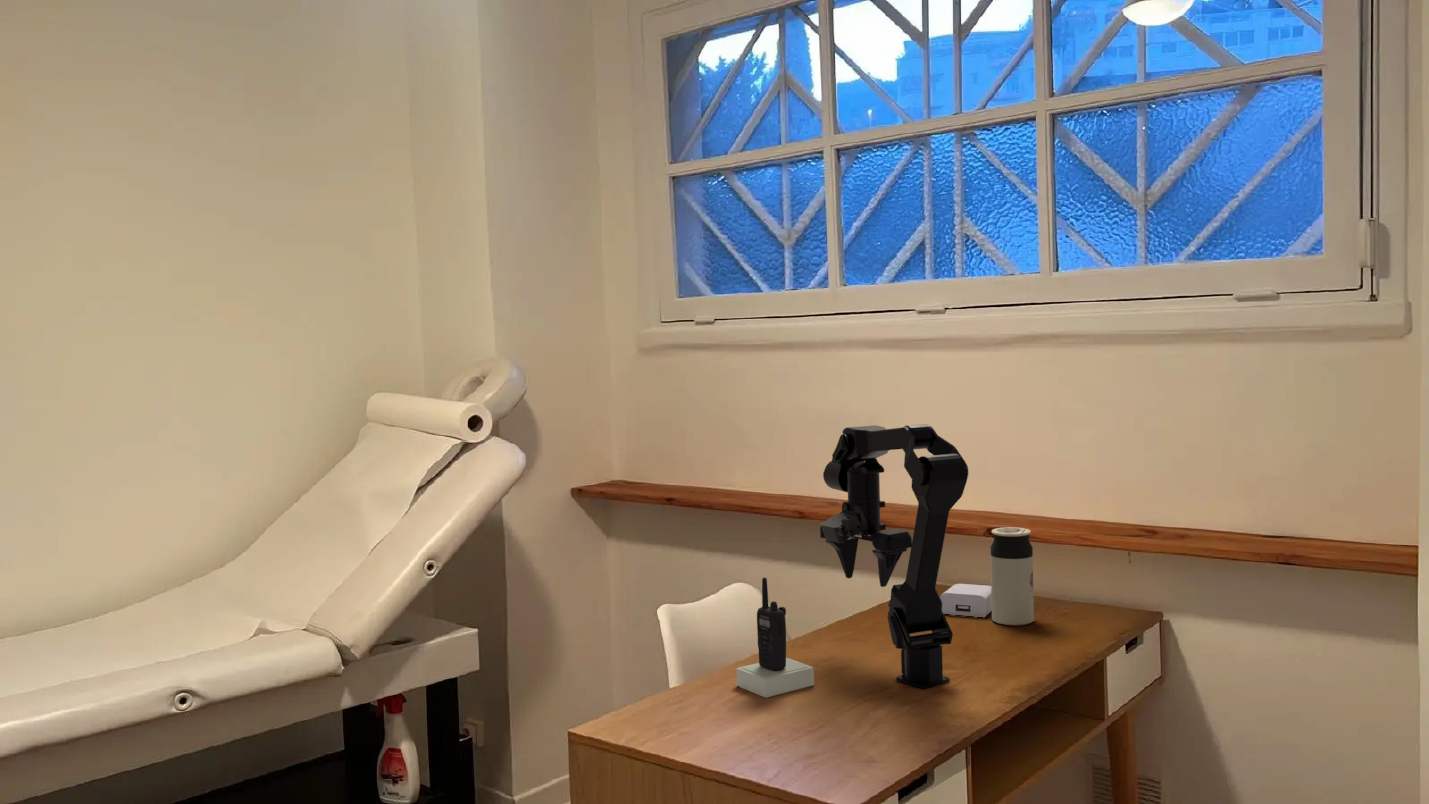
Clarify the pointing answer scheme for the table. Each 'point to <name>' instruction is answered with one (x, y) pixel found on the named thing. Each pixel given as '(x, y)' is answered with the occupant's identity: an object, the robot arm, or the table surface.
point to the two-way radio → (771, 633)
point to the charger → (967, 600)
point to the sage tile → (775, 678)
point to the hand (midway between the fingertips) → (865, 582)
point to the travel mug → (1012, 576)
